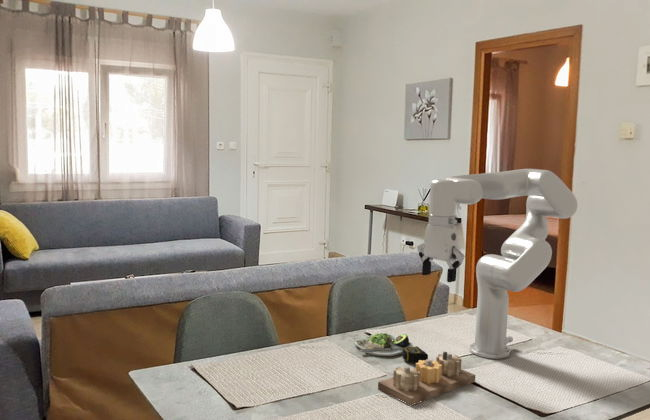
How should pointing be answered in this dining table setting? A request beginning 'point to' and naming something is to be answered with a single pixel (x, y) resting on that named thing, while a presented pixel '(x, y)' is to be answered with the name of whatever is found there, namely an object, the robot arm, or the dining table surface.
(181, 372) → the dining table surface
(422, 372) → the ochre gear
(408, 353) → the tape measure
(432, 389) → the gear board
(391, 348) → the salad plate
